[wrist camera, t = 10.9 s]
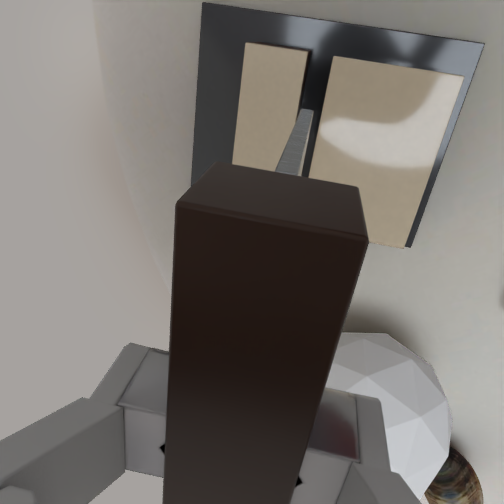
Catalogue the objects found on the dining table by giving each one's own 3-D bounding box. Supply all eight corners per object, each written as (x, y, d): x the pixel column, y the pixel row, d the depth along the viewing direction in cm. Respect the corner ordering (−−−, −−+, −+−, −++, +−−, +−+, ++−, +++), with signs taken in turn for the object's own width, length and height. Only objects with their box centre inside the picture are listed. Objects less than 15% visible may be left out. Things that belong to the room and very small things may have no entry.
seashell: (480, 476, 47) (505, 551, 40) (430, 483, 49) (446, 556, 42) (455, 421, 44) (479, 492, 37) (403, 431, 46) (416, 501, 39)
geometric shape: (391, 331, 47) (498, 457, 37) (285, 406, 47) (361, 549, 37) (363, 272, 36) (504, 426, 26) (227, 370, 37) (312, 556, 27)
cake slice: (257, 41, 30) (245, 42, 26) (311, 49, 30) (307, 51, 25) (239, 193, 36) (226, 215, 31) (283, 202, 35) (277, 225, 31)
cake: (204, 2, 30) (179, -5, 25) (482, 43, 28) (514, 44, 23) (191, 203, 38) (170, 227, 33) (409, 244, 36) (422, 277, 31)
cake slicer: (270, 102, 13) (173, 201, 5) (345, 115, 13) (371, 238, 5) (235, 344, 18) (157, 590, 10) (289, 356, 17) (255, 617, 10)
